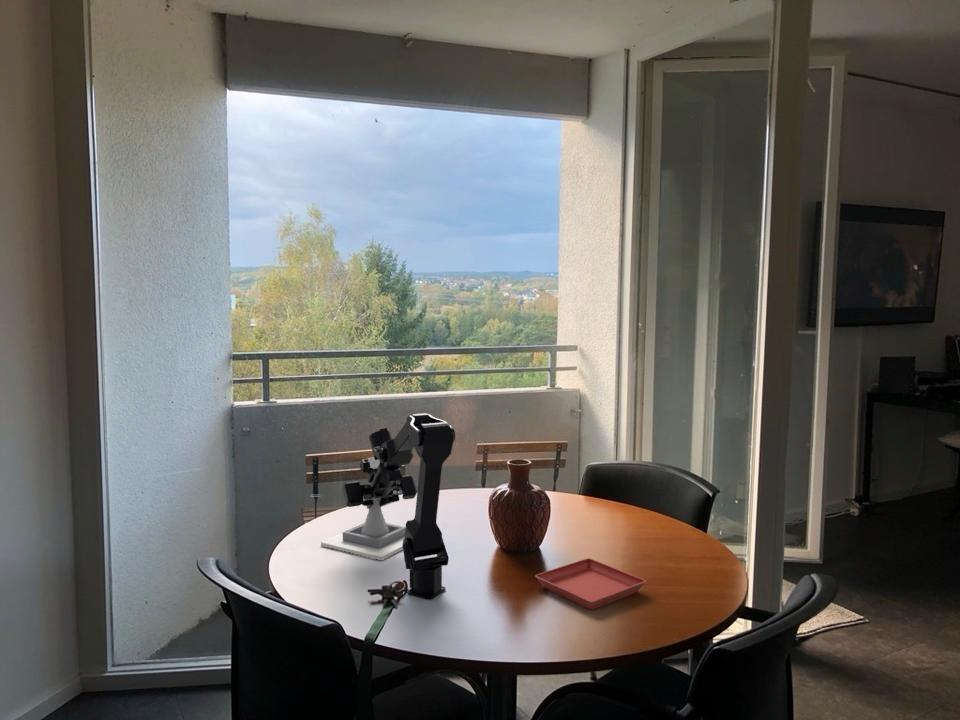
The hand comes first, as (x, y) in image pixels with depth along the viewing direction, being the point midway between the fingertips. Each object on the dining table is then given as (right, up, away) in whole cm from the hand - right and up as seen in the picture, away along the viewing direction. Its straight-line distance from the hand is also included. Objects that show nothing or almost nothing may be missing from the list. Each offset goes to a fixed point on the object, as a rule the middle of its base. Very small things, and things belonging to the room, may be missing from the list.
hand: (373, 506), depth 194 cm
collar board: (0, -9, 0) cm, 9 cm away
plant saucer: (+53, -13, -30) cm, 63 cm away
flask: (+1, -7, 0) cm, 7 cm away
